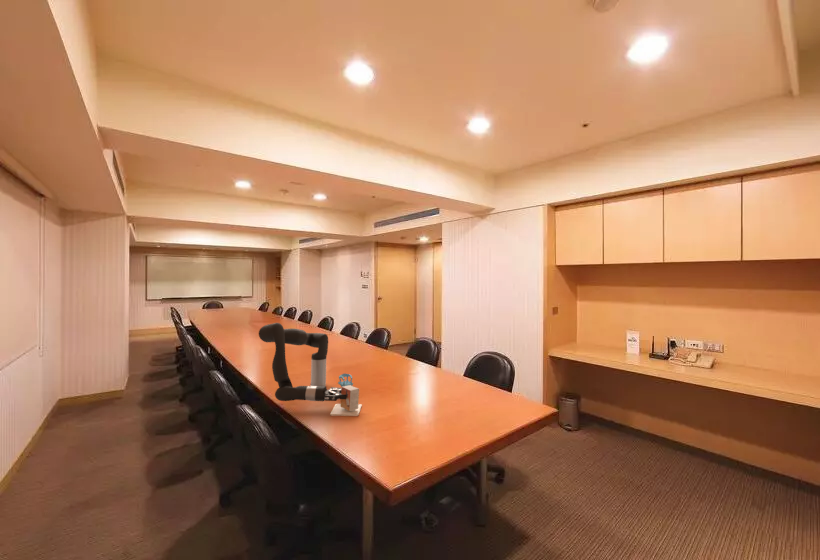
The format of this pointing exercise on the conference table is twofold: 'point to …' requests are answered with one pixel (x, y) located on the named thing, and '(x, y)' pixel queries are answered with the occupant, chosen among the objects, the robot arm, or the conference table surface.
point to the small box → (350, 397)
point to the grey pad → (344, 411)
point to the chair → (346, 383)
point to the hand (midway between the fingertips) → (347, 394)
